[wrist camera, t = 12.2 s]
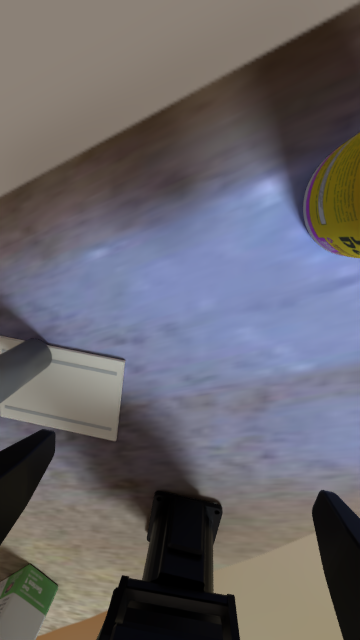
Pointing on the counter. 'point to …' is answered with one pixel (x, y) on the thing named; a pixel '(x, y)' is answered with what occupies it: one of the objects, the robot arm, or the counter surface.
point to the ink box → (24, 603)
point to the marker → (22, 365)
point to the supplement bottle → (336, 201)
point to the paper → (70, 393)
